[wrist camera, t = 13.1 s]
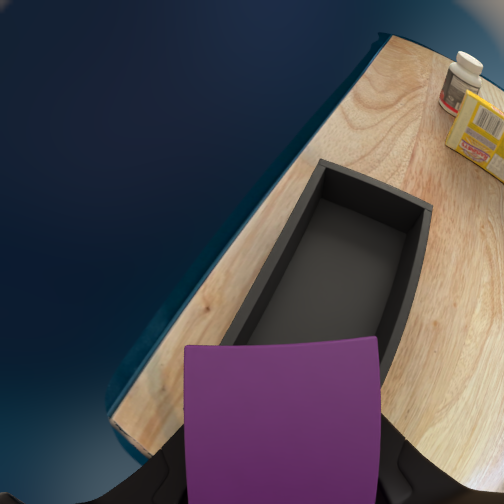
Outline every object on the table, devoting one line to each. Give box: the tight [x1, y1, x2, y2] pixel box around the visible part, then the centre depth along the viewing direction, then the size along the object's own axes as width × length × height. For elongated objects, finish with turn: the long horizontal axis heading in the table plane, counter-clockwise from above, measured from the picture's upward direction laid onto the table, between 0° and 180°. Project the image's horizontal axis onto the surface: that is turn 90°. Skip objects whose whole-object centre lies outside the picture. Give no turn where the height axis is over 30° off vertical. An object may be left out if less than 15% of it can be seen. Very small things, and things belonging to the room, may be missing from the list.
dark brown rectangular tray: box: [183, 159, 433, 410], centre depth 17 cm, size 19×9×4 cm, turn 152°
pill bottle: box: [439, 51, 483, 117], centre depth 24 cm, size 5×5×10 cm
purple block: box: [184, 336, 381, 504], centre depth 7 cm, size 4×3×9 cm, turn 1°
